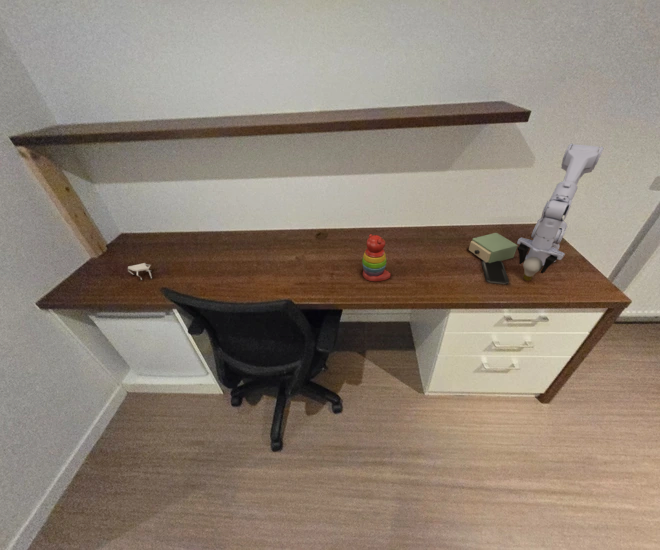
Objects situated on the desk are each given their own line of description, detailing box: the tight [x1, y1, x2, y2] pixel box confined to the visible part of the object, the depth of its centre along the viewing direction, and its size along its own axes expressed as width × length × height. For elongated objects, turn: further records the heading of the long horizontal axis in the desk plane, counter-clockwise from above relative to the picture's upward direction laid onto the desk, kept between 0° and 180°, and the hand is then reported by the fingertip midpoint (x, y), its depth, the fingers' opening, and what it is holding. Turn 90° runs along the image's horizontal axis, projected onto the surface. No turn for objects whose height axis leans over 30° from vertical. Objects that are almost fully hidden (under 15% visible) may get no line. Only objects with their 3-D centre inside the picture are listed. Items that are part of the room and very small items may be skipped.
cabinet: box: [471, 232, 519, 263], centre depth 127 cm, size 12×12×6 cm
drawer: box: [468, 240, 491, 262], centre depth 127 cm, size 13×11×4 cm
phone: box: [481, 259, 510, 286], centre depth 119 cm, size 8×1×15 cm
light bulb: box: [522, 257, 544, 282], centre depth 111 cm, size 6×6×10 cm
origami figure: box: [127, 262, 153, 281], centre depth 130 cm, size 12×8×5 cm
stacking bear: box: [361, 233, 392, 282], centre depth 117 cm, size 11×10×18 cm
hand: (531, 267), depth 110 cm, fingers open, 7 cm apart
